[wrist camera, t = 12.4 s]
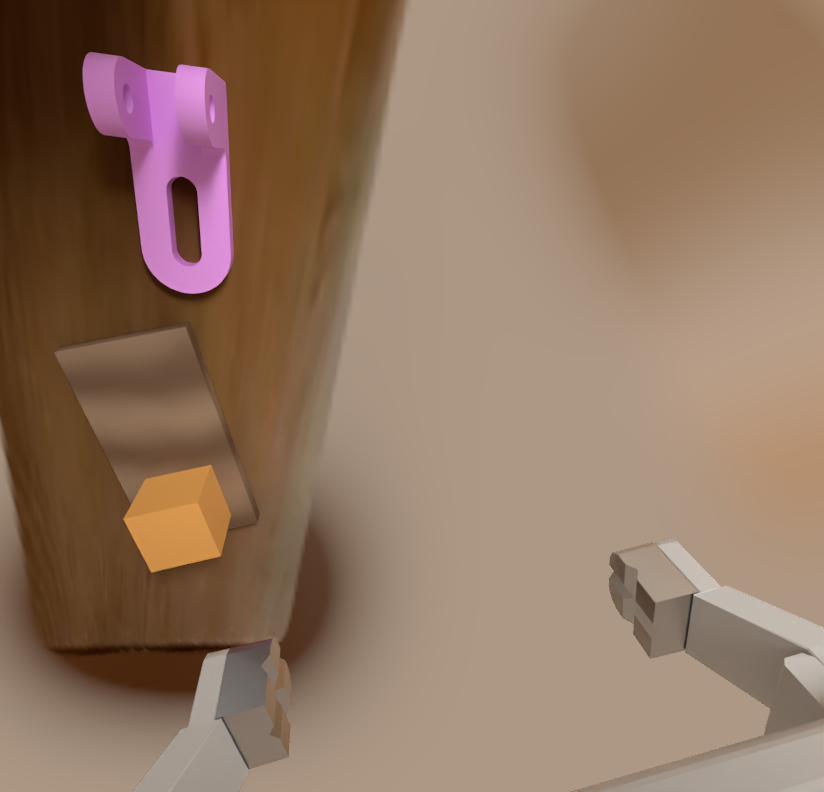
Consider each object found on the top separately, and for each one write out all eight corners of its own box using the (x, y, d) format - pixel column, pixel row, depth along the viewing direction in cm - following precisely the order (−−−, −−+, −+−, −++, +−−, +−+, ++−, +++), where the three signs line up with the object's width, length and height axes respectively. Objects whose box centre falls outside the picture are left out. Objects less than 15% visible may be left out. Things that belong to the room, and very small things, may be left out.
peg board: (61, 346, 35) (27, 371, 31) (189, 322, 36) (172, 342, 32) (156, 537, 43) (139, 577, 39) (259, 513, 44) (253, 550, 40)
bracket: (128, 69, 30) (77, 44, 23) (226, 83, 31) (202, 62, 25) (152, 286, 35) (116, 313, 29) (235, 291, 36) (218, 318, 30)
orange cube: (145, 479, 40) (123, 519, 35) (211, 464, 40) (197, 502, 36) (169, 528, 42) (151, 572, 37) (231, 514, 42) (220, 556, 38)
